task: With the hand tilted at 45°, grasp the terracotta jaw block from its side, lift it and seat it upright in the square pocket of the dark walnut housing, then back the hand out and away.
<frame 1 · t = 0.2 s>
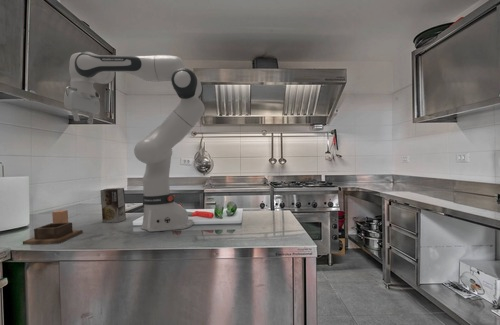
hand: (83, 122, 124), 48 cm above the table, tool pointing down, fingers open, 8 cm apart
jaw block: (61, 231, 123), on the table
coffee box: (114, 221, 139), on the table
housing: (54, 238, 111), on the table
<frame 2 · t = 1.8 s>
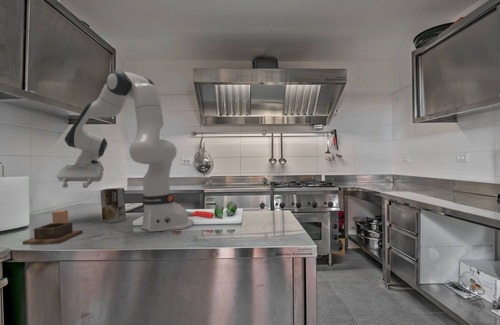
hand: (74, 187, 133), 18 cm above the table, tool tilted 45°, fingers open, 8 cm apart
nothing on the table moved.
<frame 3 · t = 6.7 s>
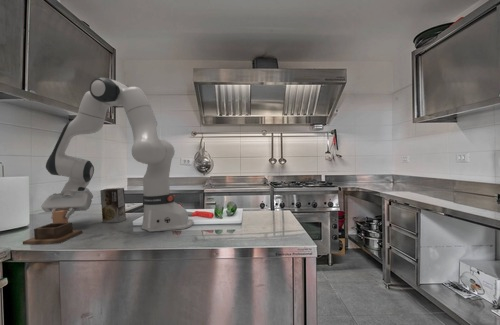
hand: (59, 218, 122), 6 cm above the table, tool tilted 45°, fingers closed on jaw block, 4 cm apart
jaw block: (61, 231, 123), on the table, touching gripper
everything else where it was.
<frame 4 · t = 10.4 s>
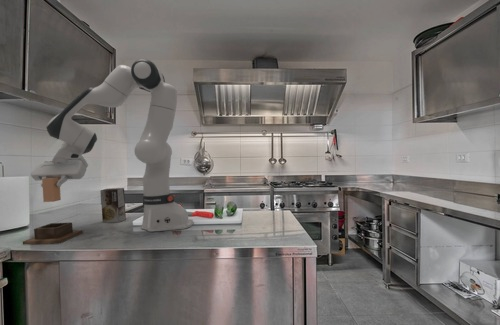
hand: (50, 186, 110), 21 cm above the table, tool tilted 45°, fingers closed on jaw block, 4 cm apart
jaw block: (52, 200, 111), point 15 cm above the table, touching gripper
everything else where it was.
when the fingers open (9 cm above the table, at t = 13.9 s): jaw block drops 1 cm, resting on housing.
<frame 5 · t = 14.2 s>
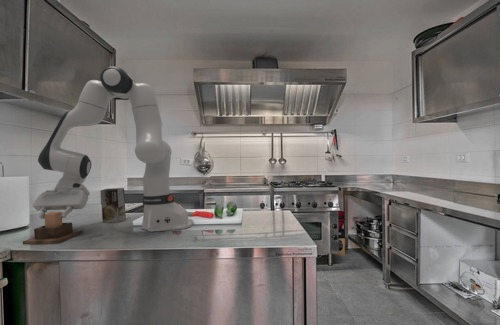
hand: (52, 217, 111), 9 cm above the table, tool tilted 45°, fingers open, 7 cm apart
jaw block: (54, 235, 111), point 1 cm above the table, touching housing
everything else where it was.
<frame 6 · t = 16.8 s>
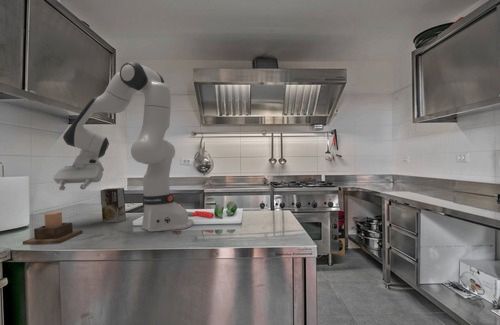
hand: (71, 189, 123), 18 cm above the table, tool tilted 45°, fingers open, 8 cm apart
nothing on the table moved.
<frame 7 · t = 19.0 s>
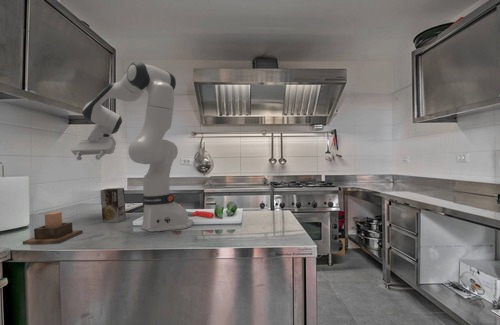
hand: (87, 159, 136), 31 cm above the table, tool tilted 45°, fingers open, 8 cm apart
nothing on the table moved.
at the end: jaw block 0.1 cm off-centre on the housing, point 1.2 cm above the housing's base; jaw block tilted 0°; the gripper is holding nothing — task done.
